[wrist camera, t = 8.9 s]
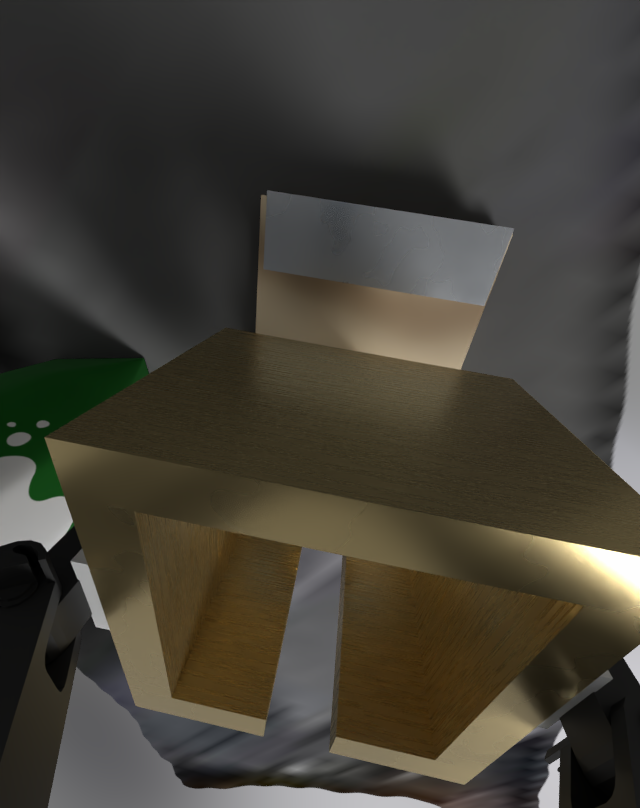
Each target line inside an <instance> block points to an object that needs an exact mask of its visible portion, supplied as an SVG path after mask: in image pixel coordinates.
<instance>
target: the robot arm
mask: <svg viewBox="0 0 640 808" xmlns="http://www.w3.org/2000/svg"><path fill="white" fill-rule="evenodd" d="M90 616H92V618H93V621H94V623H95V626H96V627H99V628H103V629H108V630H110V629H109V626H108V623H107V620H106V617H105V614H104V611H103V608H102V605H101V602H100V599H99V596H98V593H97V591H96V588H95V585H94V582H93V579H92V576H91V573H90V570H89V567H88V564H87V561H86V558H85V555H84V552H83V549H82V546H81V544H80V541H79V538H78V535H77V532H76V529H75V526H73V527H72V528H71V529H70V530H69V531H68V532H67V533H66V534H65V535H64V536H63V537H62V538H61V539H60V540H59V541H58V542H57V543H56V544H55V545H54V546H53V547H52V548H51V549H50V550H49V551H48V552H47V551H46V549H45V548H44V546H43V545H42V544H41V543H39V542H36V541H32V540H26V541H16V542H13V543H9V544H6V545H3V546H0V808H48V803H49V798H50V793H51V788H52V783H53V778H54V773H55V769H56V764H57V759H58V754H59V749H60V744H61V739H62V734H63V729H64V724H65V719H66V714H67V709H68V705H69V700H70V694H71V690H72V685H73V680H74V674H75V670H76V665H77V660H78V655H79V650H80V645H81V640H82V636H81V629H82V627H83V626H84V625H85V623H86V622H87V620H88V619H89V618H90ZM559 719H560V720H561V723H562V725H563V728H564V730H565V732H566V735H567V737H566V738H565V739H563V740H562V741H561V742H559V743H558V744H556V745H555V746H553V747H552V748H550V749H549V750H548V751H547V753H546V756H545V761H546V762H548V763H549V764H551V763H552V762H554V761H555V760H557V759H559V758H560V767H559V768H558V772H560V787H559V808H640V684H639V683H638V681H637V679H636V678H635V676H634V675H633V673H632V671H631V670H630V668H629V667H628V665H627V663H626V662H625V660H624V659H623V658H622V659H621V660H620V661H618V662H617V663H616V664H615V665H613V666H612V667H611V668H610V669H608V670H607V671H606V672H605V673H603V674H602V675H601V676H600V677H598V678H597V679H596V680H595V681H593V682H592V683H591V684H590V685H588V686H587V687H586V688H585V689H583V690H582V691H581V692H580V693H578V694H577V695H576V696H575V697H573V698H572V699H571V700H570V701H568V702H567V703H566V704H565V705H563V706H562V707H561V708H560V709H558V710H557V711H556V712H555V713H553V714H552V715H551V716H550V717H548V718H547V719H546V720H545V721H543V722H542V723H541V724H540V725H538V726H537V727H541V728H545V729H548V728H549V727H550V726H552V725H553V724H554V723H556V722H557V721H558V720H559Z"/></svg>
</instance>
